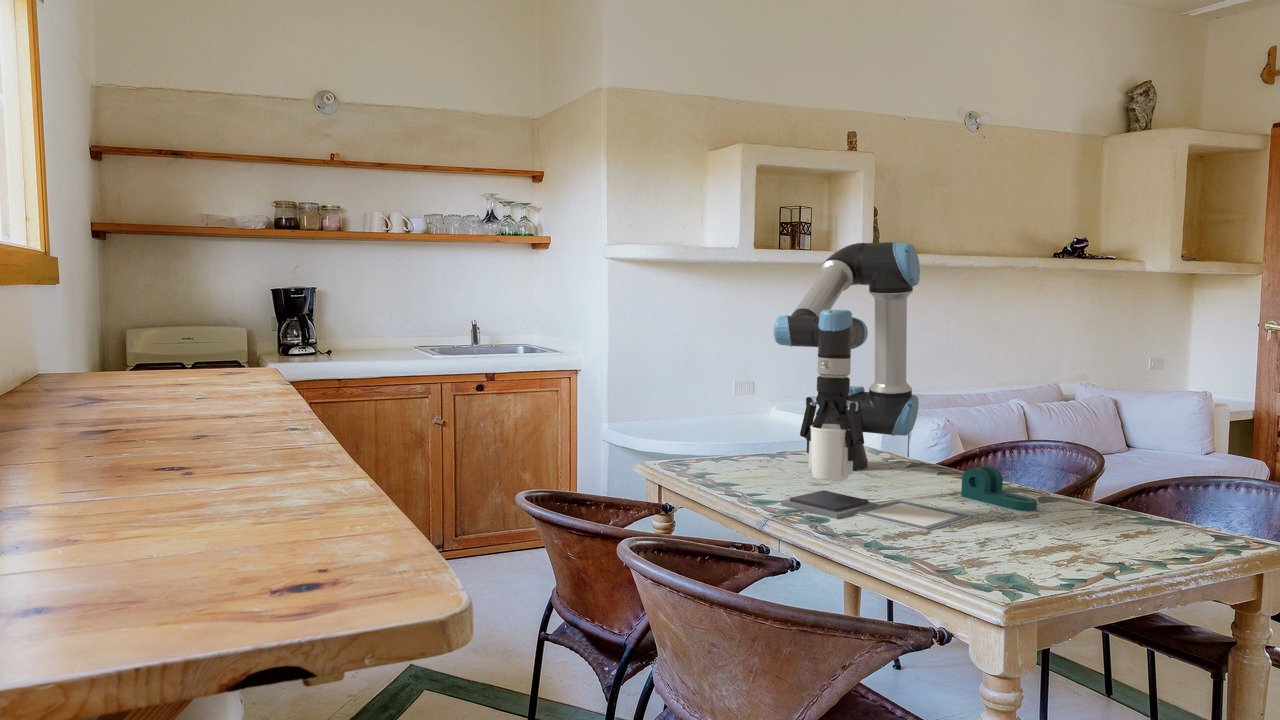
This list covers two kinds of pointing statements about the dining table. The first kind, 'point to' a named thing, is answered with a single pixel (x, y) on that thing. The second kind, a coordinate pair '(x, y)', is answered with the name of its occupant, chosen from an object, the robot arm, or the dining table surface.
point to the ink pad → (828, 504)
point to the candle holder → (828, 452)
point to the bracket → (993, 490)
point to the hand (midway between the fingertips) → (830, 470)
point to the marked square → (913, 515)
